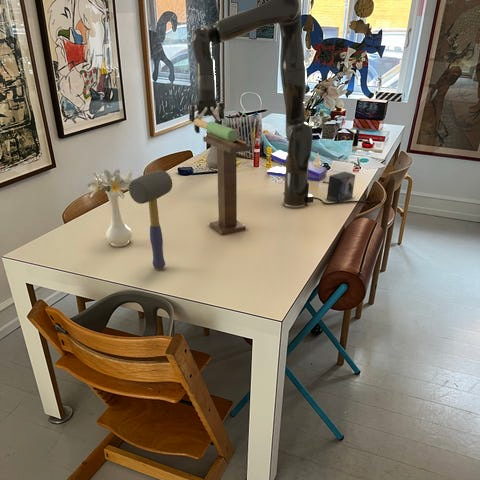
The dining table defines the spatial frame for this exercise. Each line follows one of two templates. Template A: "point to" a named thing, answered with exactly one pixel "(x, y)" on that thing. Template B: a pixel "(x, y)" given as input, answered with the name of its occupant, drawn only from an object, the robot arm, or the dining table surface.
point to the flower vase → (114, 204)
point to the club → (218, 130)
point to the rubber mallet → (152, 207)
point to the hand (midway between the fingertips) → (207, 131)
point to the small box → (340, 186)
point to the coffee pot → (213, 156)
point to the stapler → (280, 158)
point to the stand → (227, 183)
